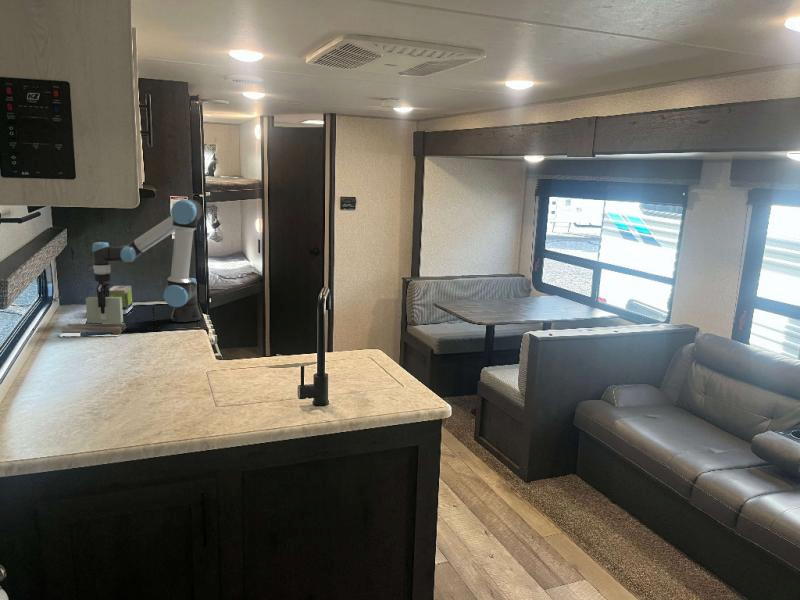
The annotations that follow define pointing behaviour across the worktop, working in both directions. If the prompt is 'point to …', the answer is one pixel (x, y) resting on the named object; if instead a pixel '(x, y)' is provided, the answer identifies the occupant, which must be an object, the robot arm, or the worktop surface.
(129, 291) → the tea box
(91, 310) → the door panel
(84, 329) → the walnut track
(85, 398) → the worktop surface
